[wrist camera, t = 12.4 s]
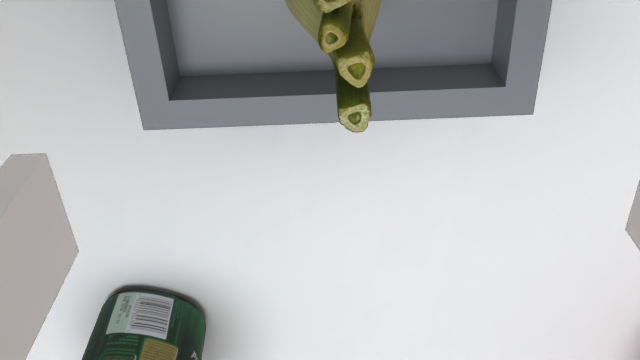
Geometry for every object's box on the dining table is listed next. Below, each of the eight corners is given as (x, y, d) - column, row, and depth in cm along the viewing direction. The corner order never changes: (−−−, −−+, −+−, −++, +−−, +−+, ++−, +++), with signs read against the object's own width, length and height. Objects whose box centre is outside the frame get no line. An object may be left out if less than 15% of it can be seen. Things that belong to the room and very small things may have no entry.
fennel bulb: (360, 32, 32) (381, 148, 22) (268, 7, 31) (246, 115, 21) (397, -83, 29) (441, -10, 19) (296, -113, 28) (286, -54, 18)
